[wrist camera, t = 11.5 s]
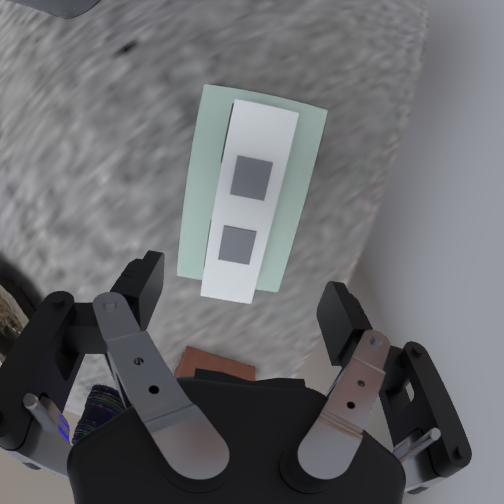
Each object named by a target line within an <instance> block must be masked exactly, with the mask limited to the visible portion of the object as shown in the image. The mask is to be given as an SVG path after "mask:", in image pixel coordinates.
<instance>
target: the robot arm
mask: <svg viewBox="0 0 504 504" xmlns="http://www.w3.org/2000/svg"><path fill="white" fill-rule="evenodd" d="M6 1H10V2H14V3H18V4H21V5H25V6H28V7H31V8H35V9H38V10H41V11H44V12H46V13H49V14H52V15H54V16H57V17H60V18H64V19H68V18H73V17H76V16H78V15H80V14H82V13H84V12H85V11H87V10H88V9H90V8H91V7H92V6H93V5H95V4H96V3H97V2H98V1H99V0H6ZM163 279H164V253H162V252H156V251H150V250H149V251H148V252H147V253H146V255H145V256H144V258H143V259H135V260H133V261H132V262H130V263H129V264H128V265H127V267H126V268H125V270H124V271H123V272H122V274H121V276H120V277H119V278H118V280H117V281H116V283H115V284H114V286H113V287H112V289H111V290H110V292H105V293H102V294H100V295H98V296H97V297H95V299H94V300H93V302H92V303H75V302H74V298H73V296H72V295H71V294H70V293H68V292H66V291H56V292H53V293H51V294H49V295H48V296H47V297H46V298H45V299H44V300H43V302H42V303H41V304H40V306H39V307H38V309H37V310H36V311H35V313H34V314H33V316H32V317H31V319H30V320H29V322H28V323H27V325H26V326H25V328H24V329H23V331H22V332H21V334H20V335H19V337H18V338H17V340H16V342H15V343H14V345H13V346H12V348H11V350H10V351H9V353H8V355H7V356H6V358H5V360H4V362H3V363H2V365H1V367H0V447H1V448H2V449H4V450H5V451H6V452H7V453H9V454H10V455H11V456H13V457H14V458H15V459H16V460H18V461H20V462H22V463H23V464H25V465H26V466H28V467H29V468H31V469H35V470H38V469H44V470H46V471H48V472H51V473H53V474H55V475H57V476H60V477H62V478H65V479H67V480H69V481H70V484H71V487H72V491H73V494H74V501H75V504H402V498H403V494H404V492H408V493H409V494H418V493H420V492H422V491H424V490H426V489H428V488H430V487H432V486H433V485H435V484H437V483H439V482H441V481H443V480H444V479H446V478H448V477H449V476H451V475H453V474H454V473H456V472H458V471H459V470H461V469H462V468H464V467H465V466H467V465H468V464H469V462H470V460H471V456H472V452H471V448H470V445H469V442H468V439H467V437H466V434H465V432H464V429H463V427H462V424H461V422H460V419H459V417H458V414H457V412H456V410H455V408H454V405H453V403H452V401H451V399H450V396H449V394H448V392H447V390H446V388H445V386H444V384H443V382H442V380H441V378H440V376H439V373H438V372H437V370H436V368H435V366H434V364H433V362H432V360H431V358H430V356H429V354H428V352H427V351H426V349H425V348H424V347H423V346H422V345H420V344H419V343H416V342H412V341H410V342H407V343H406V344H405V346H404V347H403V349H401V348H398V347H394V346H391V345H390V341H389V339H388V338H387V337H386V336H385V335H384V334H382V333H381V332H379V331H376V330H373V328H372V326H371V324H370V322H369V320H368V318H367V316H366V315H365V314H364V311H363V309H362V308H361V305H360V303H359V301H358V300H357V299H356V298H355V297H354V296H353V295H352V294H350V293H349V291H348V290H347V288H346V286H345V284H344V283H341V282H334V281H329V282H328V283H327V285H326V287H325V290H324V292H323V295H322V297H321V299H320V302H319V304H318V307H317V319H318V322H319V325H320V328H321V332H322V335H323V338H324V341H325V344H326V348H327V351H328V354H329V358H330V361H331V365H332V366H341V367H342V369H341V371H340V372H339V374H338V375H337V377H336V379H335V380H334V382H333V384H332V385H331V387H330V389H329V390H328V392H327V394H326V395H323V394H321V393H320V392H318V391H316V390H313V389H310V388H307V387H306V386H305V381H304V379H292V378H274V379H266V380H259V381H249V380H246V379H243V378H239V377H236V376H233V375H230V374H227V373H224V372H219V371H212V370H205V369H199V368H195V374H194V376H185V377H180V378H176V379H175V377H174V376H173V374H172V373H171V371H170V369H169V368H168V366H167V365H166V363H165V361H164V360H163V358H162V356H161V355H160V353H159V351H158V350H157V348H156V346H155V344H154V343H153V341H152V339H151V337H150V335H149V334H148V332H147V331H146V329H147V326H148V324H149V321H150V319H151V316H152V314H153V311H154V309H155V307H156V304H157V302H158V299H159V297H160V295H161V292H162V288H163ZM85 354H104V357H105V360H106V362H107V365H108V367H109V370H110V372H111V375H112V377H113V380H114V382H115V385H116V387H117V389H118V392H119V395H120V397H121V400H122V402H123V404H124V406H125V409H126V410H125V411H123V412H122V413H120V414H118V415H117V416H115V417H114V418H112V419H111V420H109V421H108V422H106V423H104V424H103V425H101V426H100V427H98V428H96V429H95V430H93V431H91V432H90V433H88V434H87V435H85V436H83V437H82V438H80V439H79V440H78V441H77V442H76V443H75V444H74V445H73V446H71V445H70V442H69V431H70V430H69V425H68V422H67V421H66V419H65V418H64V416H63V415H62V413H63V410H64V407H65V405H66V402H67V399H68V396H69V393H70V391H71V388H72V385H73V383H74V380H75V378H76V375H77V373H78V370H79V368H80V365H81V363H82V361H83V358H84V356H85ZM409 383H411V385H412V388H413V390H414V399H413V400H412V402H411V401H410V399H409V396H408V393H407V391H406V388H405V387H406V386H407V385H408V384H409ZM378 394H379V397H380V400H381V403H382V407H383V410H384V413H385V417H386V420H387V424H388V428H389V431H390V435H391V438H392V442H393V446H394V449H393V452H392V453H391V452H390V451H389V450H387V449H386V448H385V447H383V446H382V445H381V444H380V443H379V442H378V441H377V440H375V439H374V438H373V437H372V436H371V435H369V434H368V433H367V432H366V431H365V430H364V427H365V425H366V423H367V420H368V418H369V416H370V413H371V411H372V408H373V406H374V403H375V401H376V398H377V396H378Z"/></svg>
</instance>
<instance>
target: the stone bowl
mask: <svg viewBox="0 0 504 504" xmlns="http://www.w3.org/2000/svg"><path fill="white" fill-rule="evenodd" d="M35 311H36V310H35V309H34V308H33V307H32V306H31V304H30V303H29V301H28V299H27V298H26V297H25V295H24V293H23V292H22V290H21V289H20V288H19V287H17V286H14V285H13V284H12V283H10V282H9V281H7V280H5V279H2V278H0V360H1V363H3V362H4V360H5V358H6V356H7V355H8V353H9V351H10V350H11V348H12V346H13V345H14V343H15V342H16V340H17V338H18V337H19V335H20V334H19V333H18V331H20V332H22V331H23V329H24V328H25V326H26V325H27V323H28V322H29V320H30V319H31V317H32V316H33V314H34V313H35ZM12 327H13V328H14V329H15V330H16V332H15V331H14V330H13V329H12Z"/></svg>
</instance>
